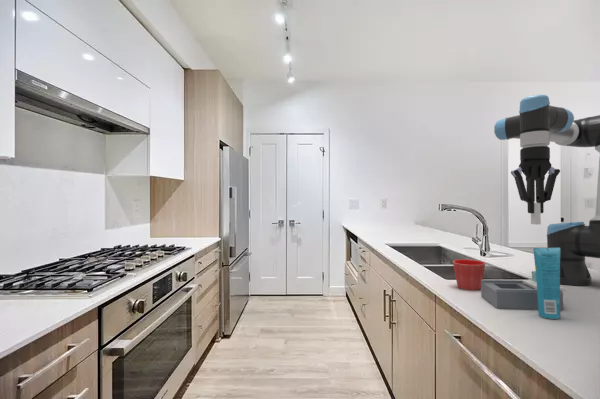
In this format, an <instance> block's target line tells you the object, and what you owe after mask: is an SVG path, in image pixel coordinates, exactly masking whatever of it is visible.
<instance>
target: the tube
mask: <svg viewBox="0 0 600 399" xmlns="http://www.w3.org/2000/svg"><path fill="white" fill-rule="evenodd" d="M533 259H534V267H535V268H534V269H535V270H534V271H536V282H537V295H538V310H537V311H538V312H537V313H538V316H539V317H540V318H544V319H550V320H558V319H561V310H560V286H561V284H560V248H547V247H533Z"/></svg>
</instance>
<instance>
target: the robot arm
mask: <svg viewBox="0 0 600 399" xmlns="http://www.w3.org/2000/svg"><path fill="white" fill-rule="evenodd" d="M550 104H551V103H550V98H549V96H548V95H546V94H535V95H530V96H529V95H528V96H526V97H524V98H522V99H521V100H520V102H519V112H518V113H519V114H518V115H514V116H510V117H504V118H501V119H499V120H497V121H496V122H495V124H494V128H493V129H494V135H495V137H496V138H497V139H498V140H501V141H505V140H508V141H509V140H511V139H518V140H519V147H520V148H521V149H520V150H519V157H520V158H519V159H520V163H519V165H518V167H517V168H516V169H514V170H511V172H510V174H511V175H512V177H513V178H514V181H515V184H516V188H517V192H518V196H519V199H520V201H522V202H525V203H527V213H528V214H530V225H541V224H542V222H541V219H542V218H541V215H542V214H544V208H545V207H544V206H545V205H544V204H545V203H546V202H547V201H551V199H552V197H553V196H552V195H553V191H554V187H555V184H556V180H557V176H558V175H559V174H560V172H561V170H560V169H559V168H555V167H553V166H552V163H551V162H550V159H551V150H550V149H551V148H550V145H551V143H555V144H556V145H559V146H564V147H575V148H592V147H593V148H594V150H595V151H596V152H598V153H599V154H600V114H599V115H598V114H597V115H594V116H589V117H584V118H578V119H575V115H574V114H573V112H572V111H571V110H569V109H567V108H564V107H561V106H560V107H558V106H553V105H550ZM598 158H599V159H598V171H597V172H598V173H597V186H596V200H595V214H594V216H593V217H591V218H590V219H589V224H588V225H586V223H585V221H573V222H561V223H560V222H559V223H551V224H549V225H547V229H546V230H547V231H546V241H547V242H546V244H547V245H546V246H547V247H546V248H560V285H568V286H590V285H592V283H593V282H592V276H591V273H590V271H589V269H588V266H587V264H586V258H593V259H600V157H598ZM522 174H523V175H524V176H525V181H526V185H525V181H524V179H523V176H522ZM547 174H548V175H547ZM546 175H547V178H546V177H545V176H546ZM545 179H546V182H545Z"/></svg>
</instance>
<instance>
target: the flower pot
mask: <svg viewBox="0 0 600 399" xmlns="http://www.w3.org/2000/svg"><path fill="white" fill-rule="evenodd" d="M452 263H453V264H452V265H453V270H454V275H455V276H454V277H455V279H456V284H457V288H459V289H461V290H464V291H465V290H466V291H479V290H481V280H484V274H485V268H486V263H485V262H484V261H482V260H481V261H480V260H475V259H454V260H453V261H452Z"/></svg>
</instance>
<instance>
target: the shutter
mask: <svg viewBox="0 0 600 399" xmlns="http://www.w3.org/2000/svg"><path fill="white" fill-rule="evenodd" d="M521 280H522V281H523V283H524V284H526V285H528V286H530V287H532V288H534V289H537V282H536V270H534V271H533V270H532V271H531V280H529V279H524V280H523V279H521ZM560 290H562V292H565V291H567V288H566V287H563V286H561V285H560Z"/></svg>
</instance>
